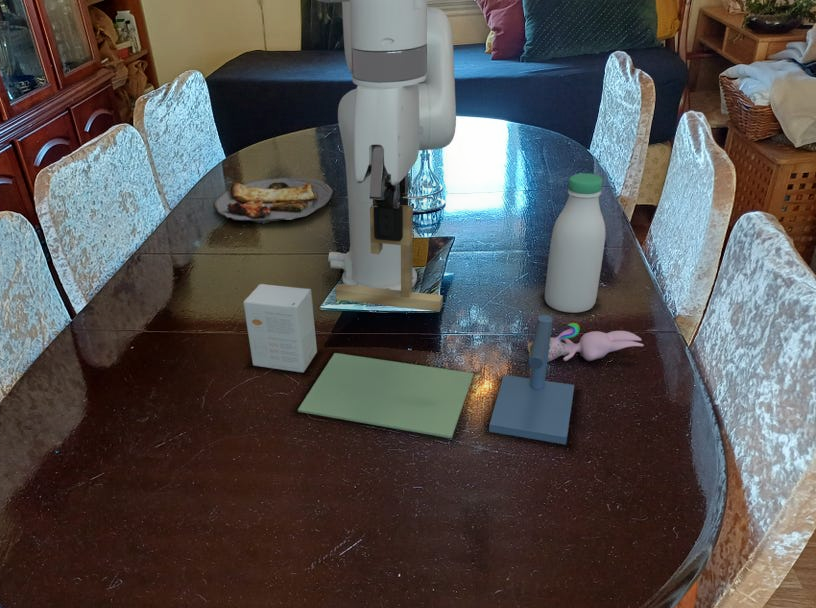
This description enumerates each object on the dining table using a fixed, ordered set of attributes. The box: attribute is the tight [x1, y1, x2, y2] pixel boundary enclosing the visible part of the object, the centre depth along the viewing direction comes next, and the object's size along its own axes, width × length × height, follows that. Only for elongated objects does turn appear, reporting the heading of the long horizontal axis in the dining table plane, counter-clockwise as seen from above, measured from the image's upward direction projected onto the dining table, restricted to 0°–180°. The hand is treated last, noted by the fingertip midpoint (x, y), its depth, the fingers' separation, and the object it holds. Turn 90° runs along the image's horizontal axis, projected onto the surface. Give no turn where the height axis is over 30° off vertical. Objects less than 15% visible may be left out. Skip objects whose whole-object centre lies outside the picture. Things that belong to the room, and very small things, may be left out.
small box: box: [243, 283, 318, 373], centre depth 101 cm, size 8×6×10 cm
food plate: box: [212, 176, 333, 225], centre depth 154 cm, size 25×23×4 cm
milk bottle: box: [544, 173, 606, 314], centre depth 108 cm, size 8×8×20 cm
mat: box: [297, 352, 475, 439], centre depth 96 cm, size 20×14×1 cm
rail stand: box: [488, 314, 575, 446], centre depth 88 cm, size 9×11×11 cm
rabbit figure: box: [526, 322, 645, 363], centre depth 99 cm, size 6×6×15 cm
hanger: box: [334, 204, 444, 313], centre depth 85 cm, size 13×2×12 cm, turn 71°
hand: (391, 234), depth 83 cm, fingers closed on hanger, 1 cm apart
